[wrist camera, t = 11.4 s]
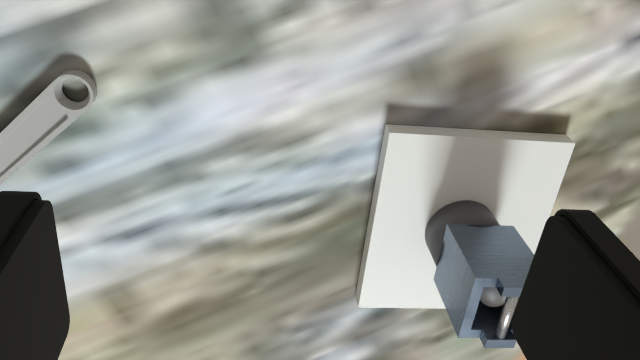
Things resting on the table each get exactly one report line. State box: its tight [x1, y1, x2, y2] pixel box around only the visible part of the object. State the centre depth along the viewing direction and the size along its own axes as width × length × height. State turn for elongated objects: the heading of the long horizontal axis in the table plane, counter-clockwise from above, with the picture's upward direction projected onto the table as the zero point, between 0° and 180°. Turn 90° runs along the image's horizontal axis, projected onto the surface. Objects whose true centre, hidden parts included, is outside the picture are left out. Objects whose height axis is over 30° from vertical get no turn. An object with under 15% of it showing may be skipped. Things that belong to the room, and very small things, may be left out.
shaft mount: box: [356, 124, 575, 309], centre depth 41 cm, size 16×14×10 cm
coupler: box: [433, 224, 534, 348], centre depth 38 cm, size 5×5×7 cm
